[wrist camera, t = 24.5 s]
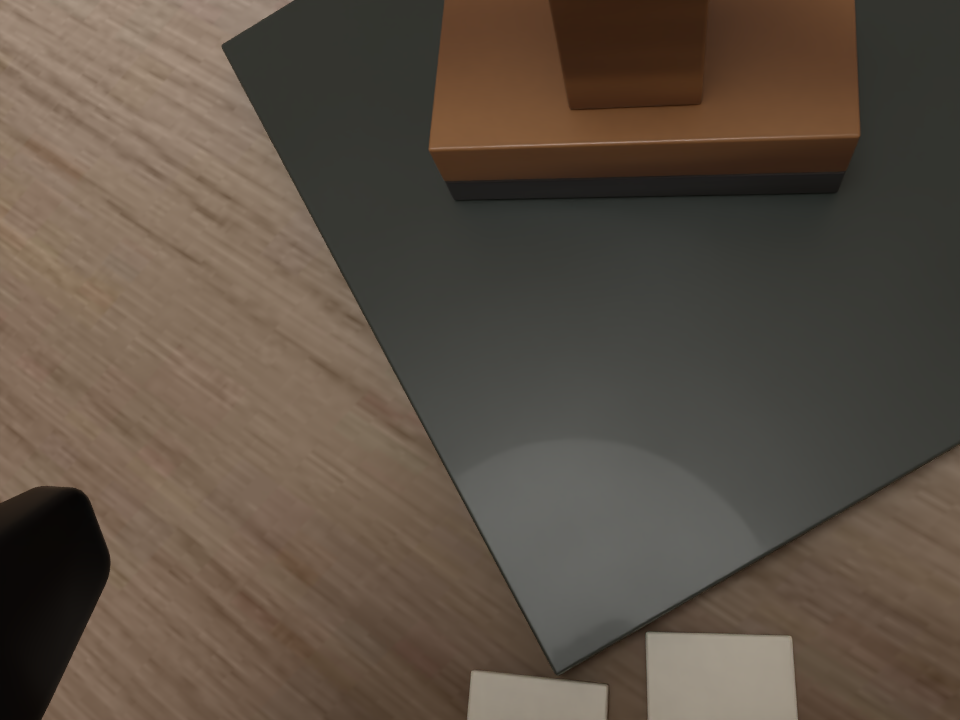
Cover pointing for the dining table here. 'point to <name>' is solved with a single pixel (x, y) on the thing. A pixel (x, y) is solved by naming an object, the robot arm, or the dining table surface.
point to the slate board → (637, 317)
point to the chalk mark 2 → (720, 676)
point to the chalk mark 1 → (534, 698)
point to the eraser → (644, 97)
